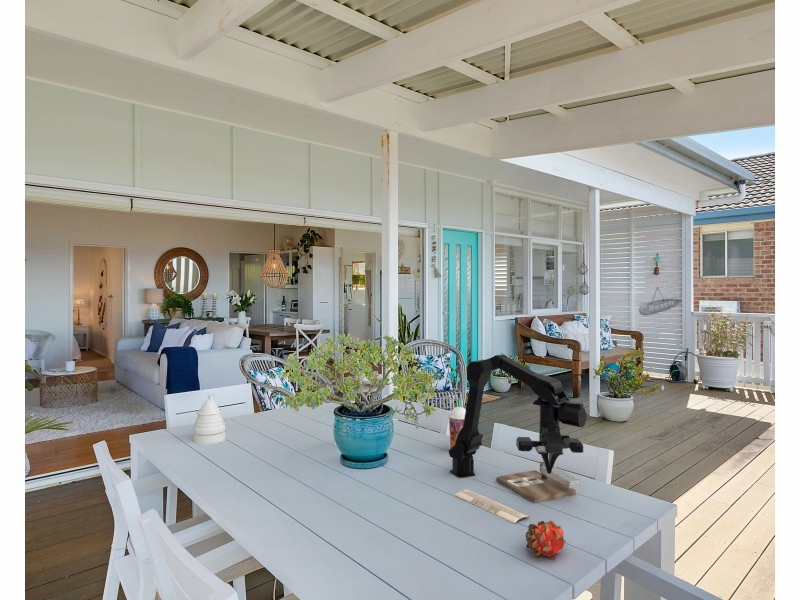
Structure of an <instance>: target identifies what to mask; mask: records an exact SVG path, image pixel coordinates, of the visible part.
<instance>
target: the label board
mask: <svg viewBox="0 0 800 600" xmlns="http://www.w3.org/2000/svg"><path fill="white" fill-rule="evenodd" d="M496 482H497V483H498V484H500V485H502V486H504V487H505V488H507V489H509V490H511V491H512V492H514V493H515V494H518V495H519V496H522V497H523V498H525V499H526V500H528V501H529V502H531V503H533V504H537V503H543V502H547V501H552V500H556V499H561V498H566V497H571V496H575V495H576V494H577V489H576V488H568V487H566V486H564V485H563V484H561V483H559V482H557V481H555V480H554V479H552V478H550V477H548V476H546V475H545V474H543V473H541V471H538V470H536V469H534V470H528V471H523V472H518V473H517V472H516V473H511V474H505V475H500V476H496Z"/></svg>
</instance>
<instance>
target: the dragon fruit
mask: <svg viewBox="0 0 800 600" xmlns="http://www.w3.org/2000/svg"><path fill="white" fill-rule="evenodd" d="M564 533H565V532H564V530H563V527H561V525H557V524H556V523H555V521H553V520H549V521H548V522H547V521H544V520H541V521H538V522H537V523H530V524H528V528H527V531H526V532H525V540H526V542H527V543H526V545H525V546H526V549H528V550H531V551H532V554H533V555H534V556H538V557H539V558H541V559H542V558H543V557H545V556H546V557H548V558H550V559H553V560H554V559H555V560H556V559H557V555H559V553H560V552H561V551H562V549H563V548H564V546H565V543H566V540H565V539H564Z"/></svg>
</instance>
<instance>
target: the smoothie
mask: <svg viewBox="0 0 800 600" xmlns="http://www.w3.org/2000/svg"><path fill="white" fill-rule="evenodd" d="M465 411H466V407H464V406H461V399H458V406H456V407H454V408H452V410H451V411H450V412H449V415H448V423H449V424H448V425H449V426H448V427H449V428H448V429H449V444H450V446H449V447H450V449H451V448H452V447H453V446H454V445H455V442H456V439H457V436H458V434H459V432H460V430H461V429H462V427H463V424H464V418H465Z"/></svg>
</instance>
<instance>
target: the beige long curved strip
mask: <svg viewBox="0 0 800 600" xmlns="http://www.w3.org/2000/svg"><path fill="white" fill-rule="evenodd" d="M454 496H455V497H456V498H459V499H461V500H462V501H464V502H467V503H469V504H471V505H473V506H476V507H478V508H480V509H482V510H484V511H486V512H488V513H490V514H493V515H495V516H496V517H500V518H501V519H503V520H506V521H507V522H510V523H512V524H514V525H516V523H517V522H518V521H519V520H521V519H523V518H525V519H530V518H531V517H530V516H528V515H526V514H524V513H522V512H519V511H517V510H515V509H513V508H510V507H508V506H506V505H504V504H502V503H499V502H497V501H495V500H492V499H490V498H488V497H486V496H484V495H482V494H479V493H477V492H475V491H473V490H471V489H462V490H460V491H458V492H457V493H456V494H454Z"/></svg>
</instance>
